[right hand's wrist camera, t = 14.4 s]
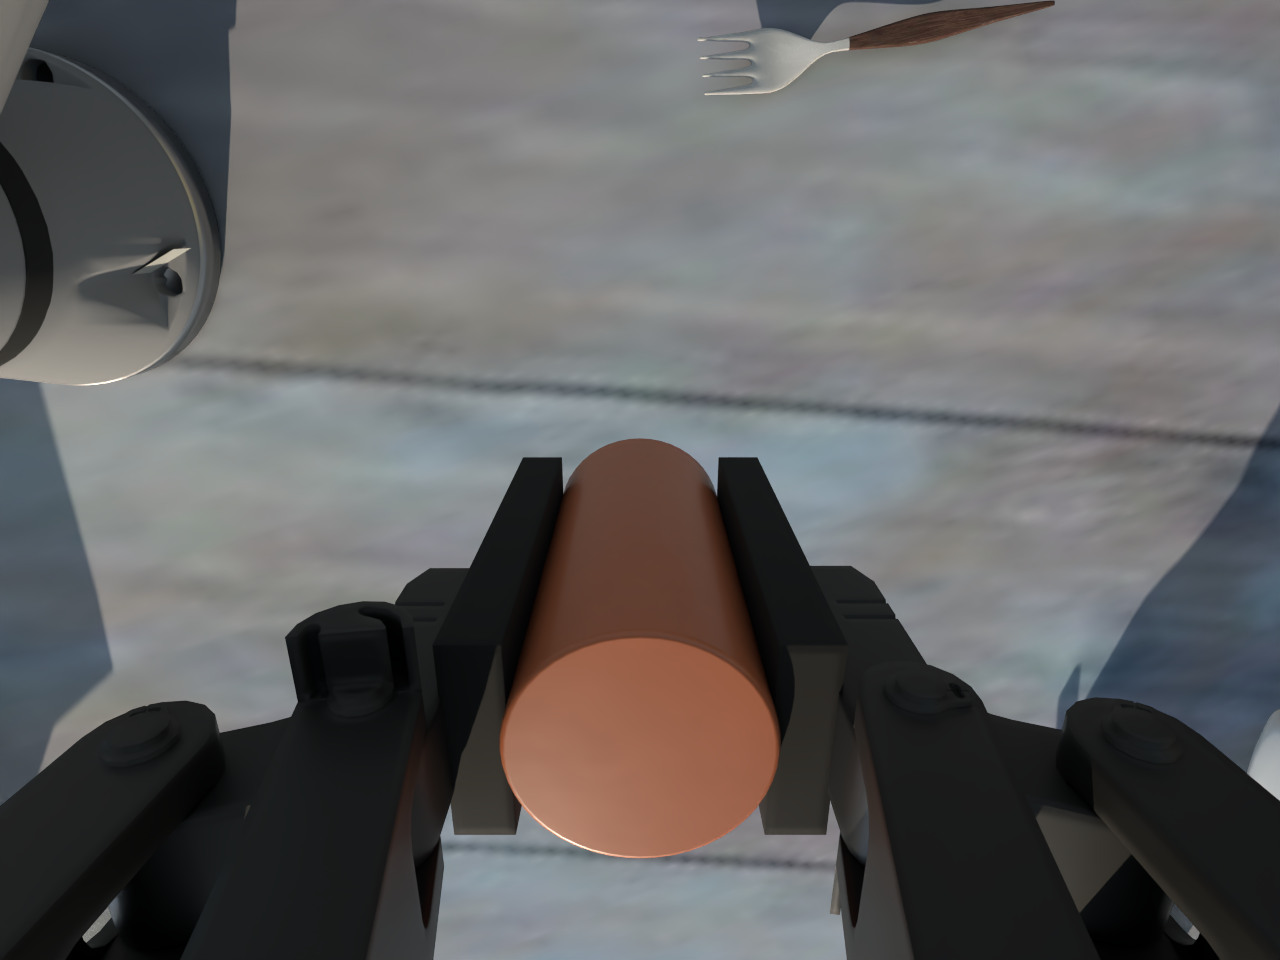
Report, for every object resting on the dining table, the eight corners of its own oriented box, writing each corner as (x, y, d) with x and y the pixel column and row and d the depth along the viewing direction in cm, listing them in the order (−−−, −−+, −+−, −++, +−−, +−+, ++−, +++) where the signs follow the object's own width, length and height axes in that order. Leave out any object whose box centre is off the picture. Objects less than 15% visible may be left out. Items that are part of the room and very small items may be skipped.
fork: (1047, 39, 33) (1072, 28, 31) (701, 106, 34) (705, 99, 32) (1048, -28, 32) (1074, -43, 30) (693, 43, 33) (696, 32, 31)
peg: (564, 581, 15) (507, 861, 9) (558, 437, 14) (487, 632, 8) (714, 581, 15) (772, 861, 9) (721, 437, 14) (792, 633, 8)
